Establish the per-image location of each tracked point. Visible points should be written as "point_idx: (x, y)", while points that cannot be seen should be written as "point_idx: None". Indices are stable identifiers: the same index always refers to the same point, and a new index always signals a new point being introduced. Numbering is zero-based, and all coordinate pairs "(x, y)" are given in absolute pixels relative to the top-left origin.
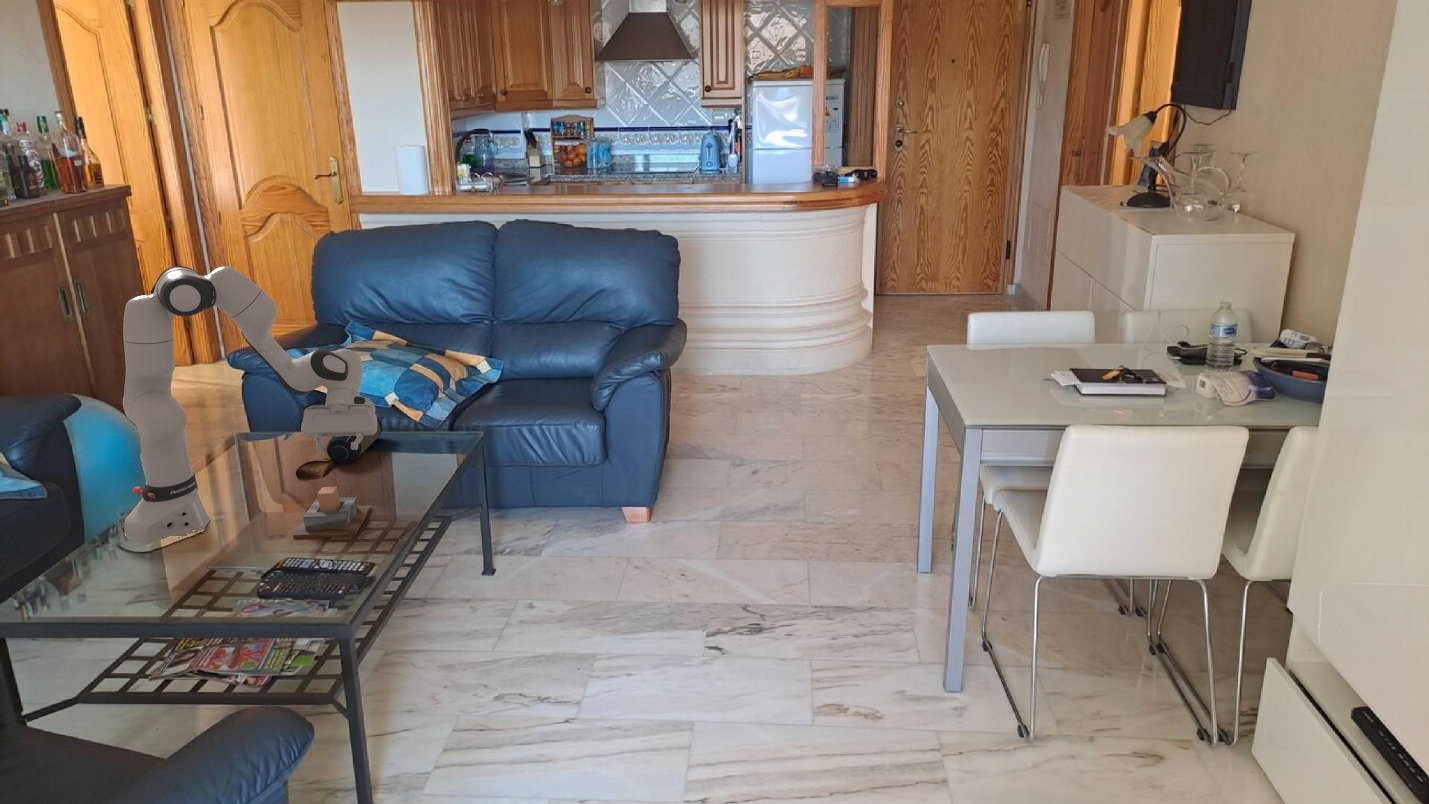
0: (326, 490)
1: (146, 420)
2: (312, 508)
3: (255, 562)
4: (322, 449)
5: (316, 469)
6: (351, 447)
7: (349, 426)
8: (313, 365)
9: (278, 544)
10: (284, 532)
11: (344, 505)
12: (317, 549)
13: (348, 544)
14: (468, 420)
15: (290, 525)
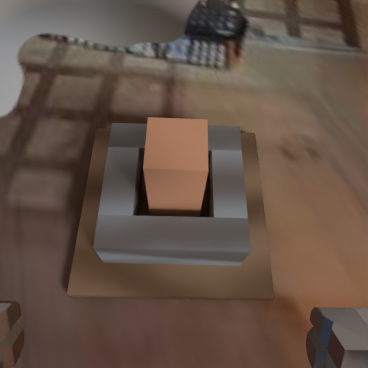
0: (179, 141)
1: None
2: (233, 174)
3: (286, 60)
4: (312, 340)
5: None
6: (5, 301)
7: None
8: None
9: (276, 117)
10: (292, 170)
11: (127, 184)
12: (174, 90)
13: (107, 102)
14: None
15: (296, 207)
